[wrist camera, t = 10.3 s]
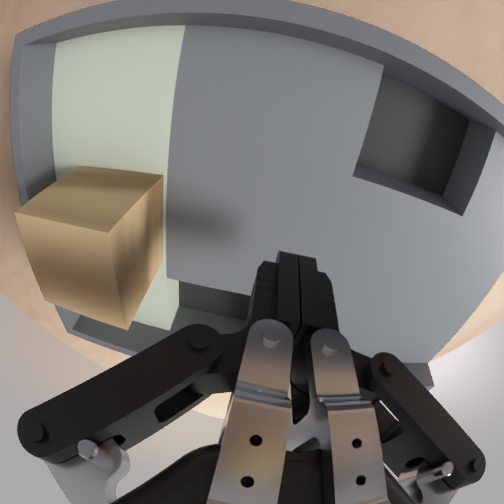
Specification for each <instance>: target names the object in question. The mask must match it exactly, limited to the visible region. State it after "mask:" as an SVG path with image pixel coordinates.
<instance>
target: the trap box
mask: <svg viewBox="0 0 504 504" xmlns="http://www.w3.org/2000/svg"><path fill="white" fill-rule="evenodd" d="M10 127H11V141H12V151H13V160H14V167H15V174H16V180H17V186H18V191H19V196H20V201H21V206H23V205H24V204H25V203H27V202H28V201H29V200H31V199H32V198H33V197H35V196H36V195H37V194H39V193H40V192H41V191H43V190H44V189H46V188H47V187H48V186H50V185H51V184H53V183H54V182H56V181H57V180H59V179H60V178H61V177H63V176H65V175H66V174H68V173H69V172H71V171H72V170H74V169H75V168H77V167H79V166H89V167H100V168H110V169H119V170H128V171H136V172H144V173H152V174H159V175H164V184H163V262H162V264H161V266H160V268H159V270H158V271H157V273H156V275H155V277H154V279H153V281H152V283H151V285H150V287H149V289H148V290H147V292H146V294H145V296H144V298H143V300H142V302H141V304H140V306H139V308H138V310H137V312H136V314H135V316H134V319H133V321H132V323H131V325H130V327H129V329H128V330H126V329H122V328H119V327H116V326H113V325H110V324H107V323H104V322H101V321H98V320H95V319H92V318H89V317H87V316H84V315H81V314H78V313H76V312H73V311H70V310H68V309H65V308H63V307H60V306H58V305H55V304H54V305H55V307H56V309H57V312H58V314H59V316H60V318H61V320H62V322H63V324H64V326H65V328H66V330H67V332H68V333H70V334H73V335H75V336H78V337H80V338H83V339H85V340H88V341H90V342H93V343H96V344H98V345H101V346H104V347H107V348H109V349H112V350H115V351H118V352H121V353H124V354H127V355H130V356H134V355H136V354H137V353H139V352H141V351H143V350H145V349H146V348H148V347H150V346H152V345H154V344H155V343H157V342H159V341H161V340H162V339H164V338H166V337H168V336H169V335H171V334H173V333H175V332H176V331H178V330H180V329H182V328H183V327H185V326H188V325H191V324H204V325H208V326H210V327H212V328H214V329H215V330H216V331H217V332H218V333H219V334H230V333H236V332H239V331H241V330H243V329H244V328H245V327H246V325H247V318H248V312H249V305H250V298H251V293H252V289H253V285H254V281H255V277H256V273H257V269H258V267H259V266H260V265H261V264H262V262H263V261H264V260H265V261H270V262H274V263H275V261H276V257H277V254H278V252H279V251H284V252H289V253H293V254H297V255H298V254H299V255H303V256H308V257H313V258H316V262H317V269H318V271H319V272H324V273H326V274H327V276H328V277H329V279H330V280H331V282H332V287H333V294H334V299H335V301H334V302H335V305H336V311H337V318H338V324H339V331H340V333H341V334H342V335H343V336H344V337H345V338H346V339H347V341H348V343H349V345H350V348H351V349H352V350H354V351H356V352H358V353H361V354H363V355H365V356H368V357H370V358H373V357H374V356H375V355H376V354H377V353H380V352H388V353H391V354H393V355H394V356H396V357H397V358H398V359H399V360H400V361H401V362H402V363H403V364H404V365H405V366H406V367H407V369H408V370H409V371H410V372H411V373H412V374H413V375H414V376H415V377H416V378H417V379H418V380H419V381H420V382H421V384H422V385H423V386H424V387H425V388H426V389H427V390H428V391H429V390H430V389H431V388H432V387H434V383H433V380H432V376H431V373H430V370H429V366H428V362H429V361H430V360H431V359H432V358H433V357H434V356H435V355H436V354H437V353H438V352H439V351H440V350H441V349H442V348H443V347H444V346H445V345H446V344H447V343H448V342H449V341H450V339H451V338H452V337H453V336H454V335H455V334H456V333H457V332H458V330H459V329H460V328H461V327H462V326H463V325H464V323H465V322H466V321H467V320H468V319H469V317H470V316H471V315H472V314H473V312H474V311H475V310H476V309H477V307H478V306H479V305H480V303H481V302H482V301H483V299H484V298H485V297H486V295H487V294H488V292H489V291H490V290H491V288H492V287H493V285H494V284H495V282H496V281H497V279H498V278H499V276H500V275H501V273H502V272H503V270H504V105H503V104H502V103H501V102H500V101H498V100H497V99H496V98H495V97H494V96H493V95H491V94H490V93H489V92H488V91H486V90H485V89H484V88H483V87H481V86H480V85H479V84H477V83H476V82H475V81H473V80H472V79H470V78H469V77H468V76H466V75H465V74H463V73H462V72H460V71H459V70H458V69H456V68H454V67H453V66H451V65H450V64H448V63H447V62H445V61H443V60H442V59H440V58H438V57H437V56H435V55H433V54H432V53H430V52H428V51H426V50H425V49H423V48H421V47H419V46H417V45H415V44H413V43H411V42H409V41H407V40H405V39H403V38H401V37H399V36H397V35H395V34H392V33H390V32H388V31H386V30H383V29H381V28H379V27H376V26H374V25H371V24H368V23H366V22H363V21H360V20H358V19H355V18H352V17H349V16H346V15H343V14H340V13H336V12H333V11H330V10H326V9H322V8H319V7H315V6H311V5H306V4H302V3H297V2H293V1H287V0H118V1H113V2H108V3H104V4H99V5H95V6H92V7H88V8H84V9H81V10H77V11H74V12H71V13H68V14H65V15H62V16H59V17H56V18H53V19H51V20H48V21H45V22H43V23H40V24H38V25H35V26H33V27H31V28H29V29H26V30H24V31H22V32H20V33H18V34H16V35H15V41H14V48H13V56H12V66H11V80H10ZM290 371H291V369H290Z"/></svg>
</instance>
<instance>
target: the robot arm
mask: <svg viewBox="0 0 504 504" xmlns="http://www.w3.org/2000/svg"><path fill="white" fill-rule="evenodd" d="M334 301H335V299H334V294H333V287H332V282H331V280H330V279H329V277H328V276H327V274H326V273H324V272H319V271H318V269H317V262H316V258H313V257H308V256H303V255H299V254H298V255H297V254H293V253H289V252H284V251H279V252H278V254H277V257H276V261H275V263H274V262H270V261H265V260H264V261H263V262H262V264H261V265H260V266H259V267H258V269H257V273H256V277H255V281H254V285H253V289H252V293H251V298H250V305H249V312H248V318H247V325H246V327H245V328H244V329H243V330H241V331H239V332H236V333H230V334H219V333H218V332H217V331H216V330H215V329H214V328H212V327H210V326H208V325H204V324H191V325H188V326H185V327H183V328H182V329H180V330H178V331H176V332H175V333H173V334H171V335H169V336H168V337H166V338H164V339H162V340H161V341H159V342H157V343H155V344H154V345H152V346H150V347H148V348H146V349H145V350H143V351H141V352H139V353H137V354H136V355H134V356H132V357H130V358H128V359H126V360H125V361H123V362H121V363H119V364H117V365H115V366H114V367H112V368H110V369H108V370H106V371H104V372H103V373H100V374H99V375H97V376H95V377H93V378H91V379H89V380H87V381H86V382H83V383H81V384H80V385H78V386H76V387H74V388H72V389H70V390H68V391H66V392H64V393H62V394H60V395H58V396H56V397H54V398H52V399H50V400H48V401H46V402H44V403H42V404H40V405H38V406H36V407H34V408H32V409H30V410H28V411H26V412H25V413H24V414H23V415H22V416H21V417H20V419H19V422H18V427H17V432H18V437H19V440H20V442H21V444H22V446H23V447H24V448H25V450H26V451H28V452H29V453H30V454H32V455H34V456H36V457H38V458H40V459H42V460H44V461H45V463H46V464H47V466H48V467H49V469H50V471H51V472H52V474H53V476H54V478H55V479H56V481H57V483H58V484H59V486H60V487H61V489H62V490H63V492H64V493H65V495H66V497H67V498H68V499H69V501H70V502H71V504H449V503H450V501H451V500H452V498H453V497H454V495H455V493H456V491H457V490H458V489H459V488H462V487H464V486H467V485H470V484H472V483H475V482H477V481H479V480H480V478H481V477H482V475H483V474H484V471H485V466H486V465H485V464H486V462H485V457H484V454H483V453H482V451H481V450H480V449H479V448H478V447H477V446H476V444H475V443H474V442H473V441H472V440H471V438H470V437H469V436H468V435H467V434H466V433H465V432H464V430H463V429H462V428H461V427H460V426H459V425H458V423H456V421H455V420H454V419H453V418H452V417H451V416H450V415H449V413H447V411H446V410H445V409H444V408H443V407H442V406H441V404H440V403H439V402H438V401H437V400H436V399H435V398H434V397H433V396H432V395H431V394H430V392H429V391H428V390H427V389H426V388H425V387H424V386H423V385H422V384H421V382H420V381H419V380H418V379H417V378H416V377H415V376H414V375H413V374H412V373H411V372H410V371H409V370H408V369H407V367H406V366H405V365H404V364H403V363H402V362H401V361H400V360H399V359H398V358H397V357H396V356H394V355H393V354H391V353H388V352H380V353H377V354H376V355H375V356H374V357H373V358H370V357H368V356H365V355H363V354H361V353H358V352H356V351H354V350H352V349H351V348H350V345H349V343H348V341H347V339H346V338H345V337H344V336H343V335H342V334H341V333H340V331H339V324H338V318H337V311H336V305H335V302H334ZM290 369H291V371H290ZM224 392H232V393H231V397H230V400H229V404H228V408H227V412H226V416H225V420H224V423H223V427H222V430H221V434H220V438H219V442H218V444H213V445H208V446H204V447H201V448H198V449H195V450H193V451H191V452H189V453H187V454H186V455H184V456H182V457H181V458H180V459H178V460H177V461H176V462H175V463H173V464H171V465H170V466H169V467H167V468H166V469H164V470H163V471H161V472H160V473H158V474H157V475H155V476H154V477H152V478H151V479H149V480H148V481H146V482H145V483H144V484H142V485H140V486H138V487H137V488H136V489H134V490H132V491H131V492H129V493H127V494H125V495H124V496H122V497H120V498H118V499H117V497H116V493H115V490H116V486H117V484H118V482H119V481H120V480H121V479H122V478H123V477H124V476H126V474H127V473H128V471H129V468H130V459H129V456H128V454H127V452H126V450H127V449H129V448H131V447H133V446H134V445H136V444H138V443H139V442H141V441H143V440H144V439H146V438H148V437H149V436H151V435H153V434H154V433H156V432H157V431H159V430H160V429H162V428H163V427H165V426H167V425H168V424H170V423H171V422H173V421H174V420H176V419H177V418H179V417H180V416H182V415H183V414H185V413H186V412H188V411H189V410H191V409H192V408H194V407H195V406H196V405H198V404H199V403H201V402H202V401H203V400H205V399H206V398H208V397H209V396H210V395H211V394H215V393H224ZM380 400H381V401H382V402H383V403H384V404H385V405H386V406H387V408H388V409H389V410H390V411H391V412H392V413H393V414H394V415H395V416H396V418H397V419H398V420H399V421H397V420H396V419H395V418H394V417H393V416H392V415H391V414H390V413H389V411H387V410H386V408H385V407H384V406H383V405H382V404H381V403H380V402H379V401H380ZM383 462H384V463H385V464H386V465H387V466H388V467H389V468H390V469H391V470H392V471H393V473H394V474H395V475H396V476H397V477H398V478H399V479H397V480H396V479H395V478H394V477H393V476H392V475H391V474H390V472H389V471H388V470H387V469H386V468H385V466H384V464H383Z"/></svg>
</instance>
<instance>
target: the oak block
mask: <svg viewBox="0 0 504 504" xmlns="http://www.w3.org/2000/svg"><path fill="white" fill-rule="evenodd" d="M163 184H164V175H159V174H152V173H144V172H136V171H128V170H119V169H110V168H100V167H89V166H79V167H77V168H75V169H74V170H72V171H71V172H69V173H68V174H66V175H65V176H63V177H61V178H60V179H59V180H57V181H56V182H54V183H53V184H51V185H50V186H48V187H47V188H46V189H44V190H43V191H41V192H40V193H39V194H37V195H36V196H35V197H33V198H32V199H31V200H29V201H28V202H27V203H25V204H24V205H23V206H22V207H20V208H19V209H18V210H17V211H15V216H16V220H17V224H18V227H19V231H20V234H21V238H22V241H23V244H24V247H25V250H26V253H27V256H28V259H29V262H30V264H31V267H32V270H33V272H34V275H35V278H36V280H37V282H38V285H39V287H40V290H41V292H42V294H43V297H44V299H45V300H46V301H48V302H50V303H53V304H55V305H58V306H60V307H63V308H65V309H68V310H70V311H73V312H76V313H78V314H81V315H84V316H87V317H89V318H92V319H95V320H98V321H101V322H104V323H107V324H110V325H113V326H116V327H119V328H122V329H126V330H128V329H129V327H130V325H131V323H132V321H133V319H134V316H135V314H136V312H137V310H138V308H139V306H140V304H141V302H142V300H143V298H144V296H145V294H146V292H147V290H148V289H149V287H150V285H151V283H152V281H153V279H154V277H155V275H156V273H157V271H158V270H159V268H160V266H161V264H162V262H163Z"/></svg>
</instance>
